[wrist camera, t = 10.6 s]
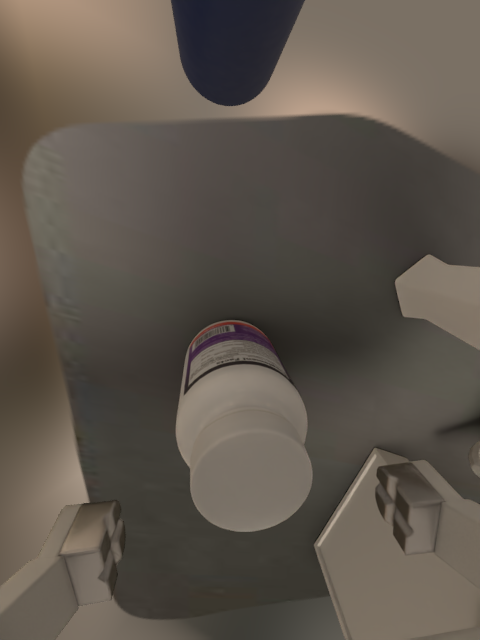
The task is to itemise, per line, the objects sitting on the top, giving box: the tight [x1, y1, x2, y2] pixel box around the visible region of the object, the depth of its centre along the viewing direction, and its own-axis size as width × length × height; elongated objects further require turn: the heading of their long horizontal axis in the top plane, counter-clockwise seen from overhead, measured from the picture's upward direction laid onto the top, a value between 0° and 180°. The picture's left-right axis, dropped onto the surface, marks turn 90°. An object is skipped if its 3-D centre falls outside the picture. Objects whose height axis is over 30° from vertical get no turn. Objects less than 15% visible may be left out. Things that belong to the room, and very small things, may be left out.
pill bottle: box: [176, 320, 313, 532], centre depth 15 cm, size 5×5×10 cm
